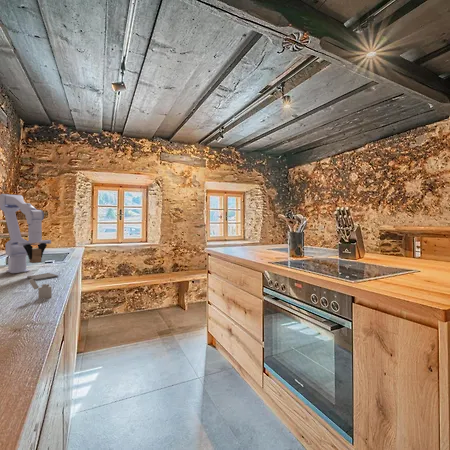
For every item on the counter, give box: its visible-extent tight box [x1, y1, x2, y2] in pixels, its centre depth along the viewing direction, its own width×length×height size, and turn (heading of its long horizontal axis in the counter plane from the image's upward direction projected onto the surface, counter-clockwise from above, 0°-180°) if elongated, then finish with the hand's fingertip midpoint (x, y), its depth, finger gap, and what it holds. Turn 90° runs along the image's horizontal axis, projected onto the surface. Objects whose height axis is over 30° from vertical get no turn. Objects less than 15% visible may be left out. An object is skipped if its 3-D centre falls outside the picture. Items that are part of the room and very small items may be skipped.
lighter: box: [28, 278, 53, 300], centre depth 101 cm, size 7×2×8 cm, turn 121°
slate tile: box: [26, 272, 59, 282], centre depth 134 cm, size 10×10×1 cm
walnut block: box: [28, 248, 42, 264], centre depth 138 cm, size 4×4×7 cm
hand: (35, 258), depth 138 cm, fingers closed on walnut block, 4 cm apart
